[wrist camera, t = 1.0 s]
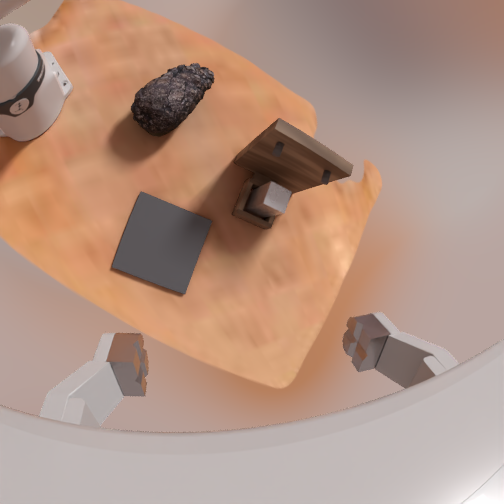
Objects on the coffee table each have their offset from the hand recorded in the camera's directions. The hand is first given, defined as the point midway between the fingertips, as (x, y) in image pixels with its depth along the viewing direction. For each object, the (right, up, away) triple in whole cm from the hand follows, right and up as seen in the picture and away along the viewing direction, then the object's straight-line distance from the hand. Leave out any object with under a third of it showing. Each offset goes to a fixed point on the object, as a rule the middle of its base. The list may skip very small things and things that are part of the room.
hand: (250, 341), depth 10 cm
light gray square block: (+1, +12, +44) cm, 45 cm away
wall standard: (+1, +15, +44) cm, 46 cm away
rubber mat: (-16, +5, +37) cm, 41 cm away
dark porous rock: (-16, +32, +37) cm, 52 cm away
